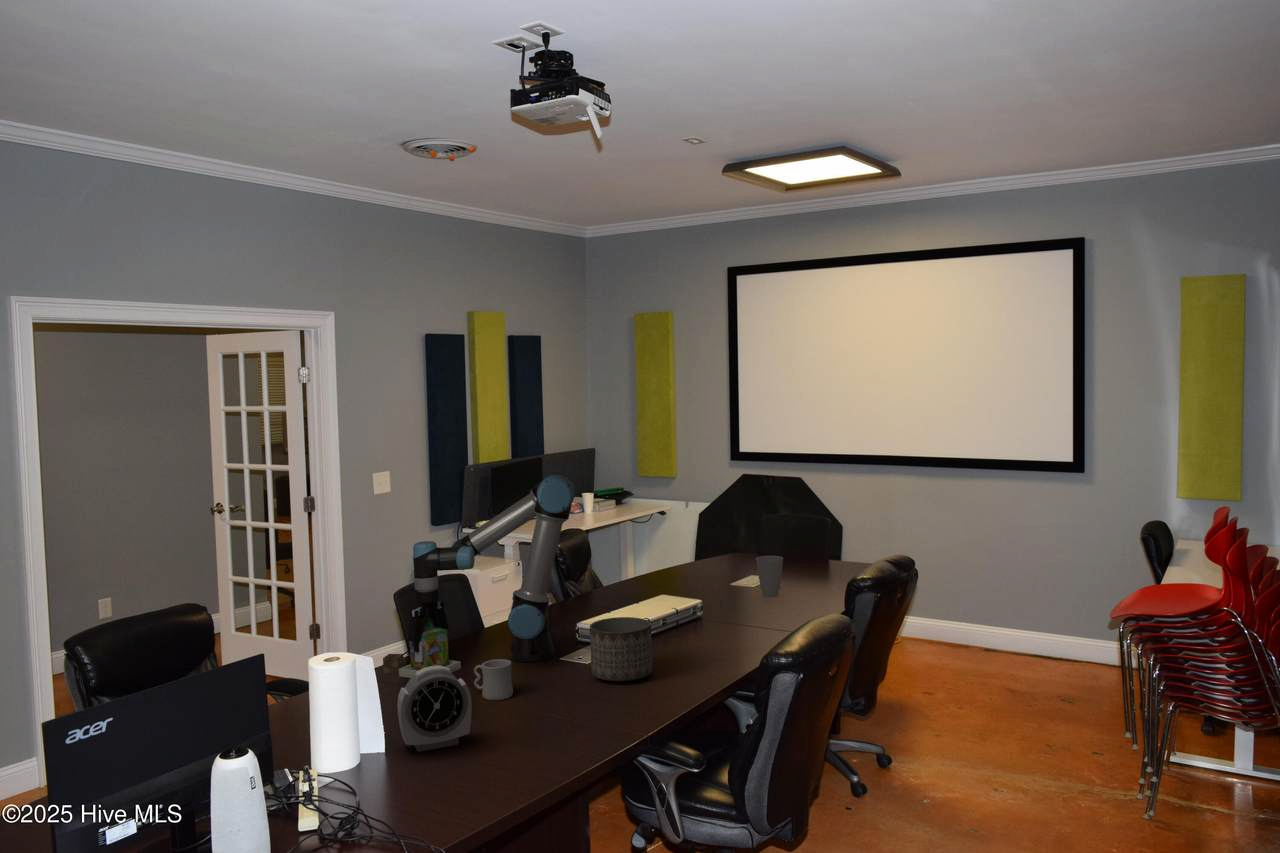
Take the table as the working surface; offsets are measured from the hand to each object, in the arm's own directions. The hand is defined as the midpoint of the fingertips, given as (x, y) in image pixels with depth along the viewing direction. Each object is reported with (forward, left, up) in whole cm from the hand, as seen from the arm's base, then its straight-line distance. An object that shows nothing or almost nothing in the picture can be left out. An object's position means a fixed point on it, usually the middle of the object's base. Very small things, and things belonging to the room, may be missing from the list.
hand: (429, 657), depth 301 cm
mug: (-34, +11, -5) cm, 36 cm away
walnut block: (+13, +3, -5) cm, 14 cm away
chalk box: (0, 0, -3) cm, 3 cm away
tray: (0, 0, -5) cm, 5 cm away
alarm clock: (-44, +48, -5) cm, 65 cm away
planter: (-61, -20, -5) cm, 64 cm away
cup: (-65, -143, -5) cm, 157 cm away
